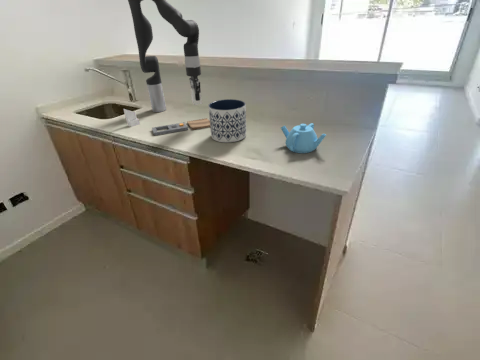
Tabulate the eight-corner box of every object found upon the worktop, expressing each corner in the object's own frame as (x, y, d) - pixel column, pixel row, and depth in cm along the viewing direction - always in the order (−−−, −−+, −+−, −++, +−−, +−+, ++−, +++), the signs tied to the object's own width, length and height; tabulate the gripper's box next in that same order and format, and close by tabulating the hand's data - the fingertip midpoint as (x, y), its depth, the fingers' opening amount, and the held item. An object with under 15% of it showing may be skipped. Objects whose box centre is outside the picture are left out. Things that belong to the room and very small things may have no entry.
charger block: (192, 102, 149) (190, 85, 144) (199, 101, 150) (198, 84, 145) (194, 104, 145) (192, 87, 141) (202, 103, 147) (200, 86, 142)
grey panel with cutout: (152, 130, 150) (151, 126, 149) (184, 124, 156) (184, 120, 154) (154, 135, 143) (153, 131, 142) (188, 129, 149) (187, 125, 147)
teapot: (309, 138, 133) (311, 116, 127) (324, 153, 119) (328, 129, 113) (279, 141, 131) (280, 119, 125) (291, 157, 117) (292, 133, 111)
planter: (207, 133, 144) (204, 102, 135) (239, 127, 149) (237, 97, 140) (217, 145, 129) (214, 112, 121) (251, 139, 134) (251, 106, 126)
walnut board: (187, 123, 157) (187, 121, 157) (207, 120, 161) (206, 118, 160) (192, 130, 148) (192, 128, 147) (213, 126, 152) (213, 124, 151)
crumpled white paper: (119, 123, 154) (123, 108, 152) (135, 127, 162) (138, 113, 161) (123, 124, 152) (126, 109, 151) (138, 128, 160) (142, 114, 159)
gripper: (182, 64, 142) (187, 97, 151) (188, 68, 131) (193, 103, 140) (196, 63, 145) (200, 95, 154) (203, 66, 133) (207, 101, 142)
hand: (196, 99), depth 147 cm, fingers closed on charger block, 4 cm apart
